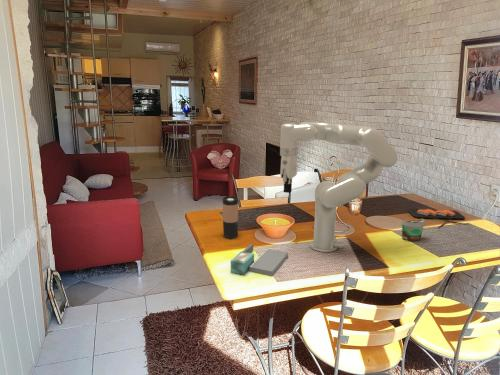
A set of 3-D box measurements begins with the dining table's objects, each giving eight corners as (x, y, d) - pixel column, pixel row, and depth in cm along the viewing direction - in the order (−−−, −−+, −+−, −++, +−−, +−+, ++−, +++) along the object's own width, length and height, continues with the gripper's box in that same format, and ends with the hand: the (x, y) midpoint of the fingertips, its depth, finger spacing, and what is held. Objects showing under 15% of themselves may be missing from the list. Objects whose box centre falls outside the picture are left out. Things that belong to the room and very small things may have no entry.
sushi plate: (455, 213, 231) (456, 207, 230) (479, 231, 202) (480, 224, 201) (406, 211, 234) (407, 205, 233) (422, 229, 205) (423, 222, 204)
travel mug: (230, 232, 197) (229, 195, 192) (241, 236, 193) (241, 198, 188) (220, 236, 192) (219, 198, 187) (231, 240, 187) (230, 201, 182)
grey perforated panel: (287, 256, 169) (288, 250, 168) (272, 276, 151) (272, 269, 151) (250, 249, 176) (250, 243, 175) (231, 267, 158) (231, 261, 158)
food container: (407, 243, 184) (409, 224, 181) (399, 239, 189) (401, 220, 187) (428, 241, 187) (431, 222, 184) (420, 236, 193) (422, 218, 190)
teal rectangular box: (254, 264, 161) (254, 253, 159) (244, 274, 152) (244, 263, 150) (241, 262, 163) (241, 251, 162) (230, 272, 154) (230, 260, 153)
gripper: (291, 155, 159) (290, 197, 164) (301, 150, 172) (300, 189, 177) (274, 153, 162) (274, 195, 167) (286, 149, 175) (284, 187, 180)
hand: (287, 192), depth 172 cm, fingers closed
